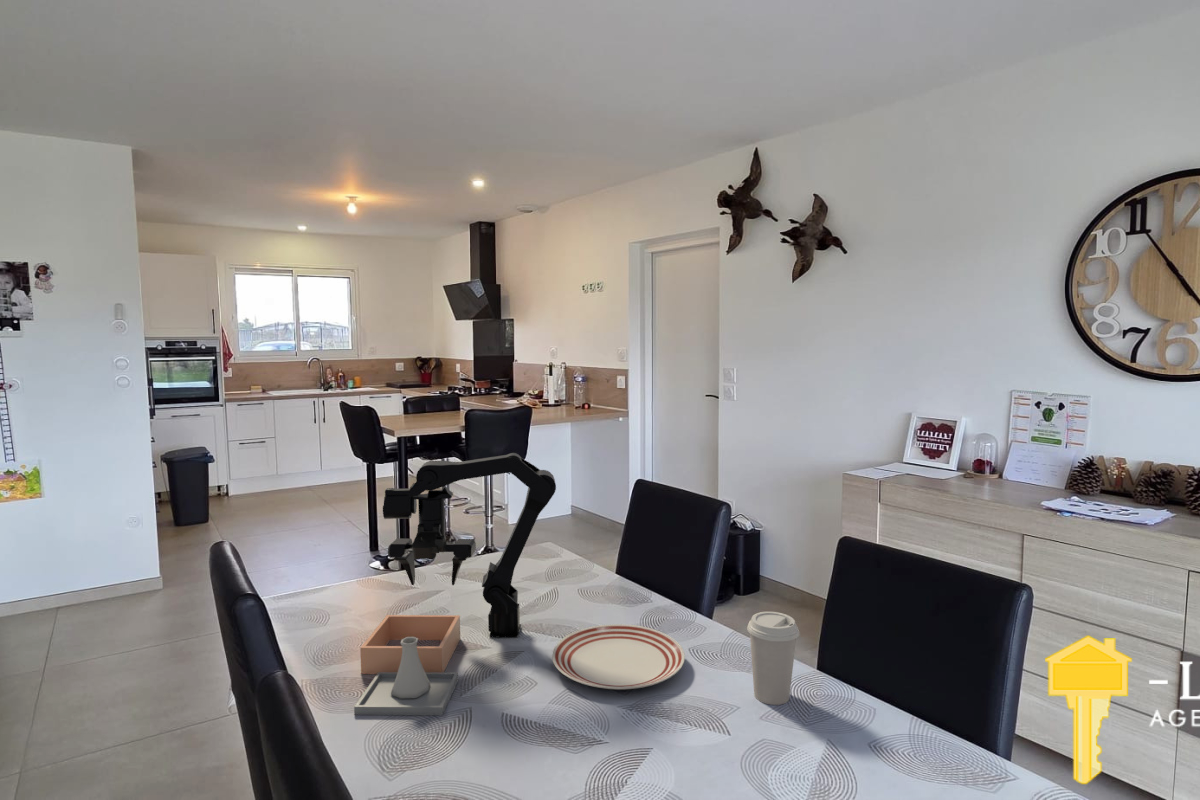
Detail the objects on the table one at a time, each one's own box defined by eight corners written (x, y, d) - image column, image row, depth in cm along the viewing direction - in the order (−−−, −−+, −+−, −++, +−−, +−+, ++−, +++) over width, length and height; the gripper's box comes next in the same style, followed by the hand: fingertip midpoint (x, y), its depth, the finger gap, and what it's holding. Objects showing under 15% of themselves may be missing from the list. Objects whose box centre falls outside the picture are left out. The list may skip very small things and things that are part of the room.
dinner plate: (689, 703, 129) (689, 686, 128) (544, 699, 130) (543, 682, 130) (680, 639, 156) (680, 625, 156) (560, 636, 157) (560, 622, 157)
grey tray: (458, 679, 137) (458, 672, 137) (442, 715, 124) (442, 707, 124) (378, 679, 137) (378, 672, 137) (354, 714, 124) (354, 706, 124)
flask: (418, 702, 127) (417, 650, 127) (383, 697, 129) (382, 646, 128) (436, 683, 134) (435, 634, 134) (403, 679, 136) (401, 630, 135)
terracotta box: (460, 638, 156) (459, 615, 155) (442, 674, 139) (442, 648, 139) (387, 638, 156) (386, 615, 156) (361, 673, 140) (360, 647, 139)
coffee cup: (769, 714, 124) (770, 634, 123) (735, 690, 133) (736, 615, 131) (808, 701, 129) (810, 624, 127) (773, 679, 137) (775, 606, 136)
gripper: (378, 527, 147) (380, 597, 149) (465, 527, 147) (466, 598, 148) (394, 513, 158) (396, 579, 160) (475, 514, 158) (476, 580, 159)
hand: (433, 584), depth 157 cm, fingers open, 9 cm apart
